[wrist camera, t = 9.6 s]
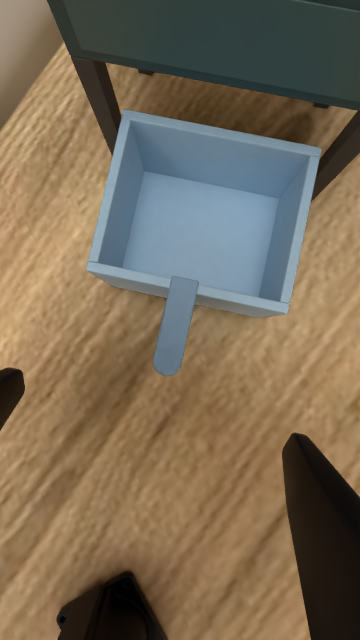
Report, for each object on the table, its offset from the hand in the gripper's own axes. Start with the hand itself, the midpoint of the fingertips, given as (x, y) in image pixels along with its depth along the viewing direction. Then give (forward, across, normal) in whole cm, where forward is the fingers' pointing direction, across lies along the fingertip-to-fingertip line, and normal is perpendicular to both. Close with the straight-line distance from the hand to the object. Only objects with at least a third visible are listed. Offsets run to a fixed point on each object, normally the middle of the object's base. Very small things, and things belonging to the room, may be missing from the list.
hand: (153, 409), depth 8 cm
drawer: (+14, 0, -1) cm, 14 cm away
